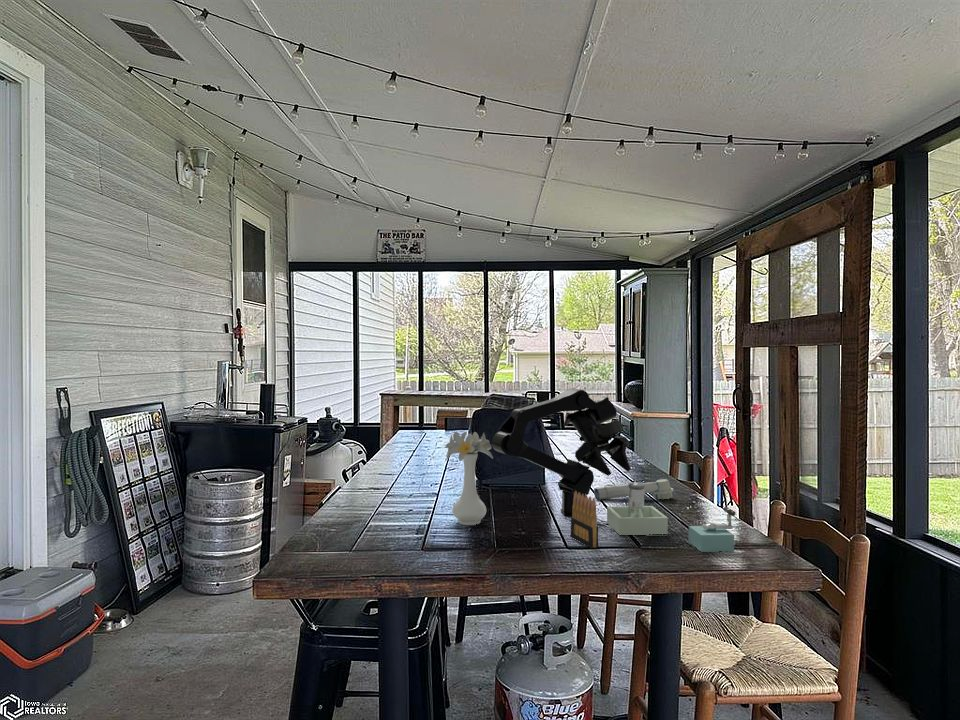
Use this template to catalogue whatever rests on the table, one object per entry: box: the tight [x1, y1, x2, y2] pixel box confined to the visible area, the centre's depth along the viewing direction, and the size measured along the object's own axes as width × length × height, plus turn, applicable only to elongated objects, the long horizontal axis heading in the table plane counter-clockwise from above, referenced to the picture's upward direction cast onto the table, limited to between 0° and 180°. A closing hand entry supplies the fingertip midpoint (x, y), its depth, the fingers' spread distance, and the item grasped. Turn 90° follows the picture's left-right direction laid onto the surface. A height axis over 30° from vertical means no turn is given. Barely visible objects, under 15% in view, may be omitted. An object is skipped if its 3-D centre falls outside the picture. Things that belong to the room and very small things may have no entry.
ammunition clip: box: [570, 491, 599, 550], centre depth 168 cm, size 11×2×12 cm, turn 21°
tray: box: [606, 505, 669, 536], centre depth 180 cm, size 13×13×4 cm
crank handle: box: [701, 506, 736, 531], centre depth 165 cm, size 7×5×5 cm
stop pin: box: [627, 481, 645, 517], centre depth 180 cm, size 4×4×11 cm
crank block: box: [688, 525, 735, 553], centre depth 165 cm, size 8×8×4 cm
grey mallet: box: [593, 478, 675, 501], centre depth 215 cm, size 5×7×25 cm
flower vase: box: [444, 431, 494, 526], centre depth 186 cm, size 13×18×25 cm
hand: (619, 472), depth 187 cm, fingers open, 9 cm apart
